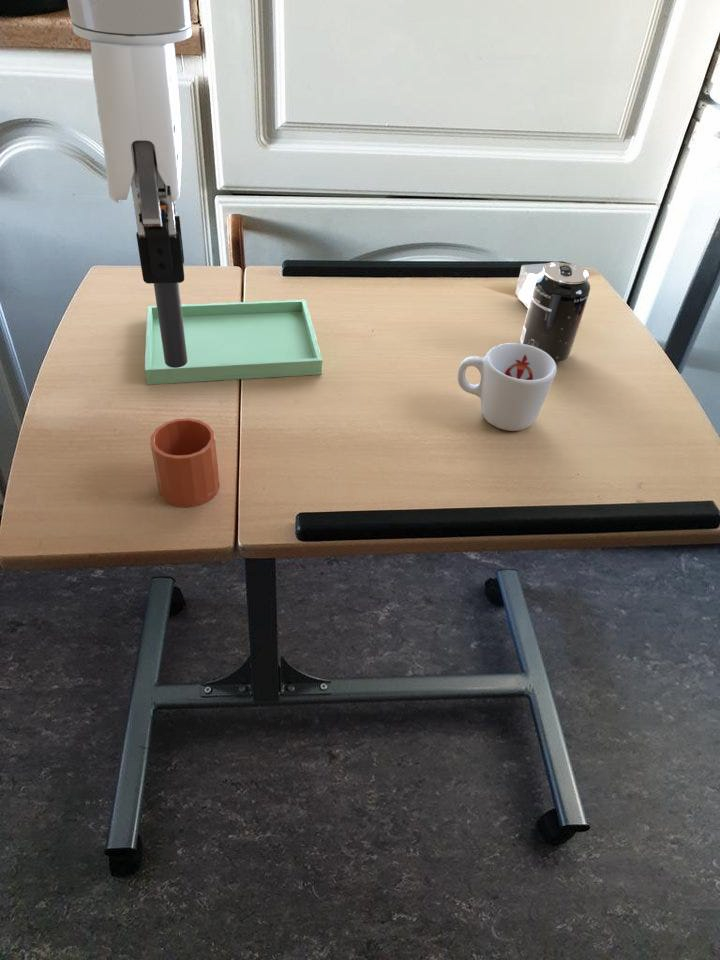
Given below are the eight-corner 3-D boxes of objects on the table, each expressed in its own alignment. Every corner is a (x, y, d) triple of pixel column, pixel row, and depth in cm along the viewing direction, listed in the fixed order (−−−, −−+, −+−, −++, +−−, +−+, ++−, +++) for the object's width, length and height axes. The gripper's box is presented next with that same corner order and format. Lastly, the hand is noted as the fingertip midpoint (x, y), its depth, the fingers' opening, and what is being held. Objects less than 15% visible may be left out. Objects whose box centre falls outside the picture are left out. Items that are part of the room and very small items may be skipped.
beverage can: (566, 344, 97) (591, 263, 89) (570, 372, 92) (596, 288, 84) (517, 338, 98) (537, 256, 89) (517, 364, 93) (539, 280, 84)
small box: (547, 291, 108) (555, 261, 105) (564, 309, 104) (573, 279, 101) (513, 293, 107) (520, 263, 104) (529, 312, 103) (537, 281, 100)
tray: (146, 384, 84) (144, 370, 83) (149, 319, 95) (147, 305, 94) (322, 374, 88) (322, 360, 87) (305, 313, 99) (305, 299, 97)
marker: (163, 369, 63) (141, 213, 53) (163, 355, 64) (142, 202, 55) (188, 368, 63) (171, 213, 53) (188, 354, 65) (171, 201, 55)
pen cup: (159, 510, 69) (150, 460, 65) (159, 469, 74) (151, 420, 69) (220, 504, 70) (216, 455, 66) (217, 464, 75) (213, 416, 70)
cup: (442, 420, 83) (453, 363, 77) (461, 385, 88) (472, 329, 83) (532, 446, 80) (550, 389, 75) (546, 408, 86) (563, 352, 80)
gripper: (80, -19, 50) (122, 232, 63) (52, 31, 39) (110, 325, 51) (188, -13, 52) (208, 231, 64) (191, 36, 40) (215, 321, 53)
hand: (164, 271), depth 58 cm, fingers closed on marker, 2 cm apart
